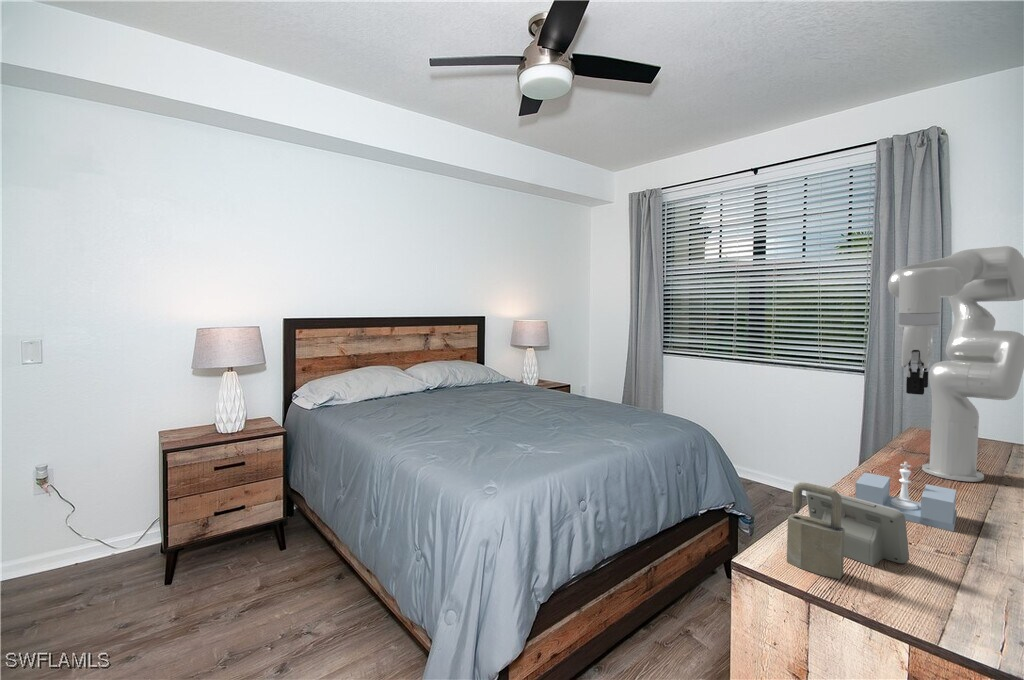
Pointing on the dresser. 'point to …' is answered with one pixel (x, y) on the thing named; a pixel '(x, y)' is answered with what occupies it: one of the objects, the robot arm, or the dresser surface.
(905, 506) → the chess piece
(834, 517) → the padlock
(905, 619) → the dresser surface
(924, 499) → the slot block
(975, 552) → the dresser surface
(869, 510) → the digital clock
